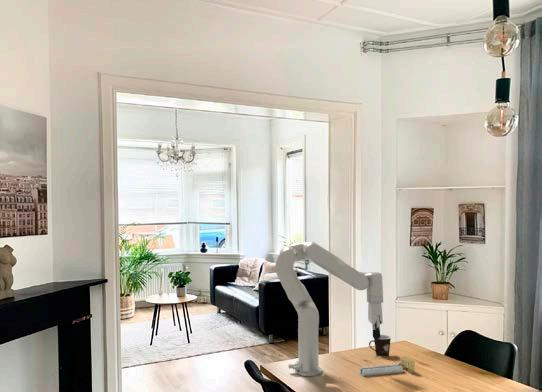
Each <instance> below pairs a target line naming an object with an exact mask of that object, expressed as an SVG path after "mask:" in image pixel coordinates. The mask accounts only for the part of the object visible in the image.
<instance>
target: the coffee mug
mask: <svg viewBox="0 0 542 392" xmlns="http://www.w3.org/2000/svg"><path fill="white" fill-rule="evenodd" d="M391 338H392V337H391V336H390V335H388V334H387V335H386V334H380V338H378V339H374V338H373V340H370V341H369V342H368V346H369V348H370V349H371V350H372V351H374V352H375V356H376V357H390V348H391ZM372 342H374V348H373V347H372V346H371V343H372Z"/></svg>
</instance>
